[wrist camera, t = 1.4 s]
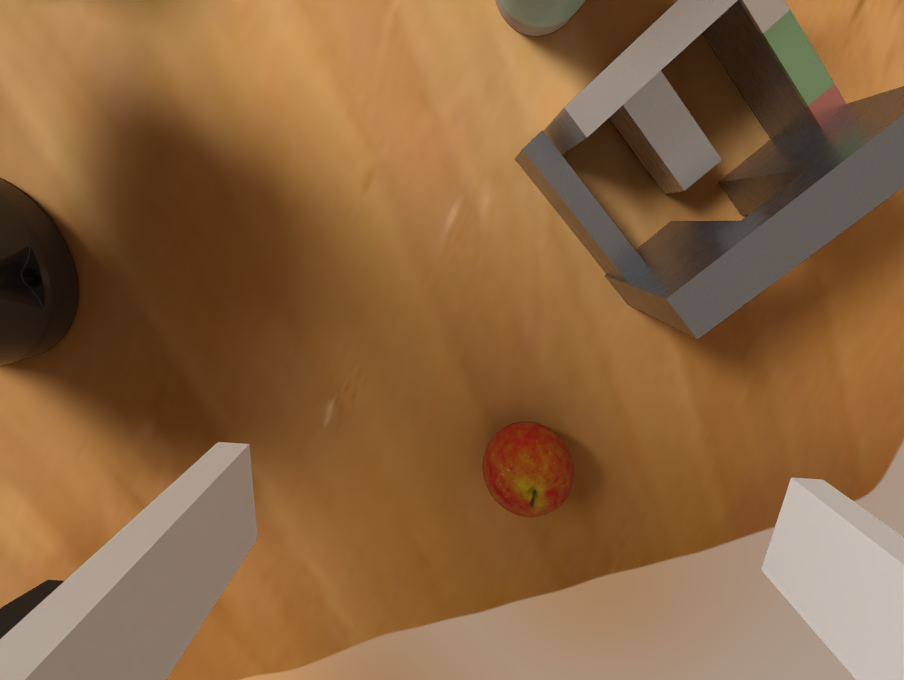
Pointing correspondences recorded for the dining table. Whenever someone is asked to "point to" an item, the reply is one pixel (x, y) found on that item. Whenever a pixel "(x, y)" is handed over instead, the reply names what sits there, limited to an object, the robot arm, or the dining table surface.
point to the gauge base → (748, 180)
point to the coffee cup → (538, 14)
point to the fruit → (528, 469)
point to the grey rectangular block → (648, 101)
